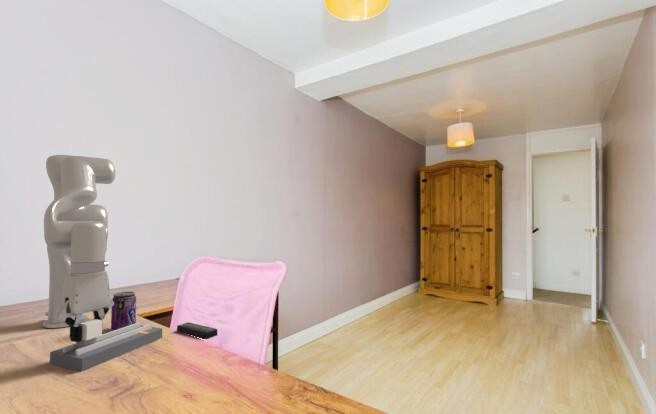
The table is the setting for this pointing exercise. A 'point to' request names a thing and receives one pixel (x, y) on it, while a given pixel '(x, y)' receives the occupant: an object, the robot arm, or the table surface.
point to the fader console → (105, 347)
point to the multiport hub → (197, 330)
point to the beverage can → (123, 310)
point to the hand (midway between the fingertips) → (86, 337)
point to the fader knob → (89, 332)
